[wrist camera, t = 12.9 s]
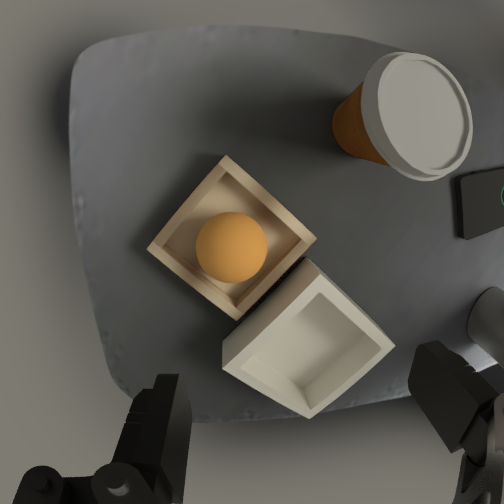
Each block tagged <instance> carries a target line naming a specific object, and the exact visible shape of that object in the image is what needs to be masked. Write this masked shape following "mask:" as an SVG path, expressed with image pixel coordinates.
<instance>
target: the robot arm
mask: <svg viewBox="0 0 504 504" xmlns="http://www.w3.org/2000/svg"><path fill="white" fill-rule="evenodd" d="M467 333H468V336H469V338H471V339H472V340H473V341H474V342H475V343H476V344H478V345H479V346H480V347H481V348H482V349H483V350H484V351H485V352H487V353H488V354H489V355H490V356H491V357H492V358H493V359H495V360H496V361H497V362H498V363H499V364H500V365H501V366H502V367H503V368H504V291H503V290H501V289H500V288H498V287H493V288H490V289H488V290H487V291H486V292H484V293H483V294H482V295H481V297H480V298H479V299H478V301H477V302H476V304H475V305H474V307H473V309H472V311H471V314H470V316H469V319H468V324H467ZM408 388H409V391H410V393H411V395H412V396H413V398H414V399H415V400H416V402H417V403H418V405H419V406H420V408H421V409H422V411H423V412H424V413H425V415H426V416H427V418H428V419H429V421H430V422H431V424H432V425H433V427H434V428H435V430H436V431H437V433H438V434H439V436H440V437H441V438H442V440H443V441H444V443H445V445H446V446H447V448H448V449H449V451H450V452H451V453H453V452H455V451H457V450H459V449H461V448H464V450H465V452H464V453H463V455H462V460H461V466H460V472H459V478H458V483H457V488H456V493H455V497H454V500H453V502H452V504H504V394H501V395H500V394H498V392H497V391H496V390H495V389H494V388H493V387H492V386H491V385H490V384H489V383H488V382H487V381H486V380H485V379H484V378H483V377H482V376H481V375H480V374H479V373H478V372H476V370H475V369H474V368H473V367H472V366H469V363H468V362H467V361H466V360H465V359H464V358H463V357H462V356H460V355H458V354H456V353H454V352H452V351H450V350H448V349H447V348H446V347H445V346H444V345H443V344H442V343H441V342H440V341H438V340H435V341H432V342H428V343H424V344H420V345H419V346H418V347H417V349H416V352H415V356H414V360H413V363H412V367H411V370H410V374H409V378H408ZM191 426H192V412H191V406H190V402H189V399H188V395H187V391H186V387H185V383H184V379H183V376H182V374H158V375H157V377H156V380H155V384H154V387H153V389H143V390H142V391H141V392H140V393H139V394H138V395H137V396H136V397H135V398H134V399H133V402H132V405H131V407H130V410H129V413H128V415H127V418H126V423H125V424H124V427H123V429H122V433H121V435H120V438H119V441H118V444H117V447H116V450H115V453H114V456H113V459H112V461H111V463H109V464H106V465H104V466H102V467H100V468H99V469H98V470H97V471H96V472H95V473H94V475H93V476H87V477H61V475H60V474H59V473H58V472H57V471H56V470H55V469H53V468H51V467H48V466H36V467H33V468H31V469H30V470H28V471H27V472H26V473H25V474H24V476H23V478H22V480H21V483H20V485H19V487H18V490H17V493H16V495H15V498H14V500H13V503H12V504H172V503H175V504H182V503H183V495H184V485H185V476H186V467H187V459H188V449H189V442H190V434H191Z"/></svg>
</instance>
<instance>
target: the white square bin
mask: <svg viewBox="0 0 504 504" xmlns="http://www.w3.org/2000/svg"><path fill="white" fill-rule="evenodd" d="M394 347H395V345H394V343H393V342H392V341H391V340H390V339H389V338H388V336H387V335H386V334H385V333H384V332H383V330H382V329H381V328H380V327H379V326H378V325H377V324H376V323H375V322H374V321H373V320H372V319H371V318H370V317H369V316H368V315H367V314H366V313H365V312H364V311H363V310H362V309H361V308H360V307H359V306H358V305H357V304H356V303H355V302H354V301H353V300H352V299H351V298H350V297H349V296H348V295H347V294H346V293H344V292H343V291H342V290H341V289H340V288H339V287H338V286H337V285H336V284H335V283H334V282H333V281H332V280H331V279H330V278H329V277H328V276H327V275H326V274H324V273H323V272H322V271H321V270H320V269H319V268H318V267H317V266H316V265H315V264H314V263H313V262H312V261H311V260H310V259H308V258H307V257H306V258H305V259H304V260H303V261H302V262H301V263H300V264H299V265H298V266H297V267H296V268H295V269H294V270H293V271H292V272H291V273H290V274H289V275H288V276H287V277H286V278H285V279H284V280H283V282H282V283H281V284H280V285H279V286H278V287H277V288H276V289H275V290H274V291H273V292H272V293H271V294H270V295H269V296H268V297H267V298H266V299H265V300H264V301H263V302H262V303H261V304H260V305H259V306H258V307H257V308H256V309H255V310H254V311H253V312H252V313H251V314H250V315H249V316H248V317H247V318H246V319H245V320H244V321H243V322H242V323H241V324H240V325H239V326H238V327H237V328H236V329H235V330H234V331H233V332H232V333H231V334H230V335H228V336H227V337H226V338H225V339H224V340H223V346H222V369H223V370H225V371H227V372H228V373H230V374H231V375H233V376H234V377H236V378H238V379H239V380H241V381H243V382H244V383H246V384H247V385H249V386H251V387H252V388H254V389H256V390H258V391H259V392H261V393H263V394H264V395H266V396H268V397H270V398H271V399H273V400H275V401H277V402H278V403H280V404H282V405H284V406H286V407H287V408H289V409H291V410H293V411H295V412H297V413H299V414H300V415H302V416H304V417H306V418H308V419H310V418H312V417H313V416H314V415H316V414H317V413H318V412H320V411H321V410H322V409H324V408H325V407H326V406H327V405H329V404H330V403H331V402H333V401H334V400H335V399H336V398H338V397H339V396H340V395H341V394H342V393H344V392H345V391H346V390H347V389H348V388H350V387H351V386H352V385H353V384H354V383H356V382H357V381H358V380H359V379H360V378H361V377H362V376H364V375H365V374H366V373H367V372H368V371H369V370H370V369H371V368H373V367H374V366H375V365H376V364H377V363H378V362H379V361H380V360H381V359H382V358H383V357H384V356H385V355H386V354H387V353H389V352H390V351H391V350H392V349H393V348H394Z"/></svg>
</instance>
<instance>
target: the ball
mask: <svg viewBox="0 0 504 504" xmlns="http://www.w3.org/2000/svg"><path fill="white" fill-rule="evenodd" d="M196 254H197V258H198V261H199V263H200V265H201V267H202V268H203V270H204V271H205V272H206V273H207V274H208V275H209V276H211V277H212V278H214V279H216V280H218V281H220V282H224V283H239V282H243V281H245V280H247V279H249V278H251V277H252V276H254V275H255V274H256V273H257V272H258V271H259V270H260V268H261V267H262V265H263V263H264V261H265V258H266V254H267V241H266V237H265V234H264V232H263V230H262V228H261V227H260V226H259V224H258V223H257V222H256V221H255V220H254V219H252V218H251V217H249V216H247V215H245V214H242V213H239V212H224V213H221V214H218V215H216V216H214V217H212V218H211V219H209V220H208V221H207V222H206V223H205V224H204V225H203V227H202V228H201V230H200V232H199V234H198V237H197V241H196Z"/></svg>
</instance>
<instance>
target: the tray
mask: <svg viewBox="0 0 504 504" xmlns="http://www.w3.org/2000/svg"><path fill="white" fill-rule="evenodd" d="M224 212H239V213H242V214H245V215H247V216H249V217H251V218H252V219H254V220H255V221H256V222H257V223H258V224H259V226H260V227H261V228H262V230H263V232H264V234H265V237H266V241H267V254H266V258H265V261H264V263H263V265H262V267H261V268H260V270H259V271H258V272H257V273H256V274H255V275H254V276H252V277H251V278H249V279H247V280H245V281H243V282H239V283H224V282H220V281H218V280H216V279H214V278H212V277H211V276H209V275H208V274H207V273H206V272H205V271H204V270H203V268H202V267H201V265H200V263H199V261H198V258H197V254H196V241H197V237H198V234H199V232H200V230H201V228H202V227H203V225H204V224H205V223H206V222H207V221H208V220H209V219H211V218H212V217H214V216H216V215H218V214H221V213H224ZM316 239H317V238H316V237H315V236H314V235H313V234H312V233H311V232H310V231H309V230H308V229H307V228H306V227H305V226H304V225H302V224H301V223H300V222H299V221H298V220H297V219H296V218H295V217H294V216H293V215H292V214H291V213H290V212H289V211H288V210H287V209H286V208H284V207H283V206H282V205H281V204H280V203H279V202H278V201H277V200H276V199H275V198H274V197H273V196H272V195H270V194H269V193H268V192H267V191H266V190H265V189H264V188H263V187H262V186H261V185H260V184H258V183H257V182H256V181H255V180H254V179H253V178H252V177H251V176H250V175H248V174H247V173H246V172H245V171H244V170H243V169H242V168H241V167H239V166H238V165H237V164H236V163H235V162H234V161H233V160H231V159H230V158H229V157H228V156H227V155H225V156H224V158H223V159H222V160H221V161H220V162H219V163H218V164H217V165H216V166H215V167H214V169H213V170H212V171H211V172H210V173H209V174H208V175H207V176H206V178H205V179H204V180H203V181H202V182H201V183H200V184H199V186H198V187H197V188H196V189H195V190H194V191H193V193H192V194H191V195H190V196H189V197H188V198H187V200H186V201H185V202H184V203H183V204H182V206H181V207H180V208H179V209H178V210H177V212H176V213H175V214H174V215H173V216H172V218H171V219H170V220H169V221H168V223H167V224H166V225H165V226H164V228H163V229H162V230H161V231H160V233H159V234H158V235H157V236H156V238H155V239H154V240H153V241H152V243H151V244H150V245H149V247H148V248H147V250H148V251H149V252H150V253H151V254H153V255H154V256H155V257H156V258H157V259H159V260H160V261H161V262H162V263H163V264H165V265H166V266H167V267H168V268H169V269H171V270H172V271H173V272H174V273H176V274H177V275H178V276H179V277H181V278H182V279H183V280H184V281H186V282H187V283H188V284H189V285H191V286H192V287H193V288H194V289H196V290H197V291H198V292H199V293H201V294H202V295H203V296H205V297H206V298H207V299H208V300H210V301H211V302H212V303H214V304H215V305H216V306H217V307H219V308H220V309H221V310H223V311H224V312H225V313H227V314H228V315H229V316H231V317H232V318H233V319H235V320H236V321H237V320H238V319H239V318H240V317H241V316H242V315H243V314H244V313H245V312H246V311H247V310H248V309H249V308H250V307H251V306H252V305H253V304H254V303H255V302H256V301H257V300H258V299H259V298H260V297H261V296H262V295H263V294H264V293H265V292H266V291H267V290H268V289H269V288H270V287H271V286H272V285H273V284H274V283H275V282H276V281H277V280H278V279H279V278H280V277H281V276H282V275H283V274H284V273H285V272H286V270H287V269H288V268H289V267H290V266H291V265H292V264H293V263H294V262H295V261H296V260H297V259H298V258H299V257H300V256H301V255H302V254H303V253H304V252H305V251H306V250H307V248H308V247H309V246H310V245H311V244H312V243H313V242H314V241H315V240H316Z"/></svg>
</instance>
